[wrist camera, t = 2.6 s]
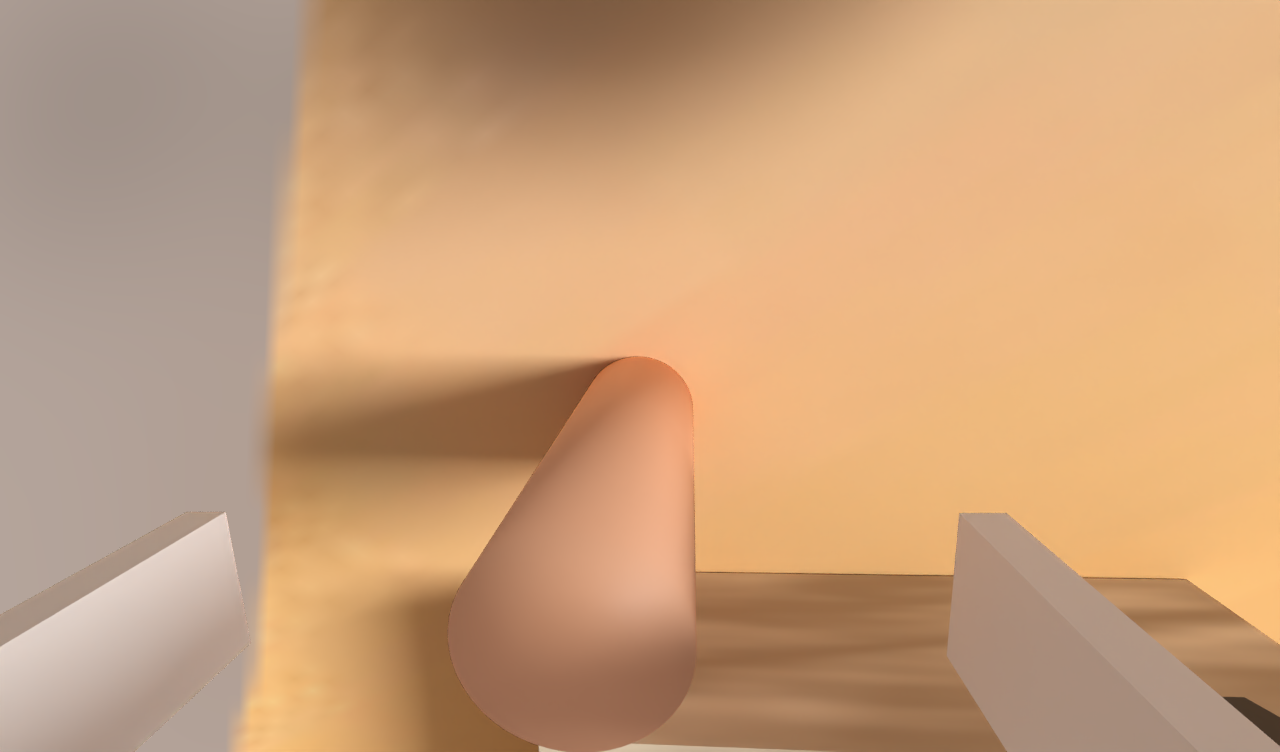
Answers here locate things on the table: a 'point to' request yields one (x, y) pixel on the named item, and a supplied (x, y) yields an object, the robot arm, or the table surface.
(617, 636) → the peg
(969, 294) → the table surface
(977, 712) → the socket box
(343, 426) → the table surface
